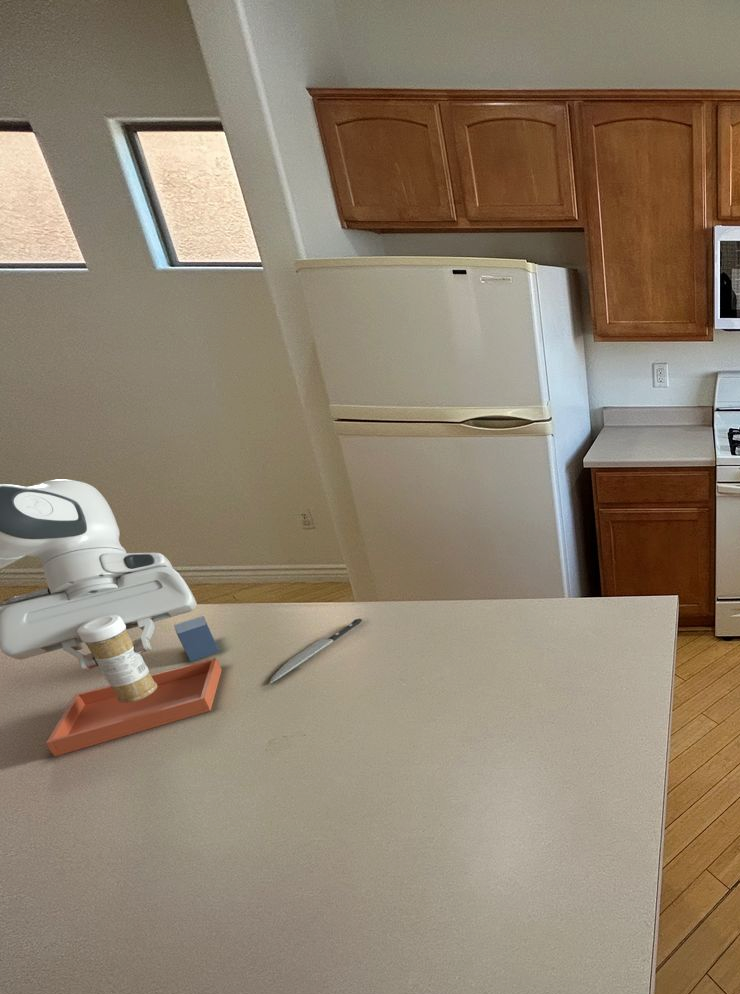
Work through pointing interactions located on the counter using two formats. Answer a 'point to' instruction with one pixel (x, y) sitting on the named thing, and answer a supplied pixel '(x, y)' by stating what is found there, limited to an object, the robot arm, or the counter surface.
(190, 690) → the tray
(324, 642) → the chef's knife
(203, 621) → the blue block
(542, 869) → the counter surface
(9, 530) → the robot arm
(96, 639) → the sprinkles bottle
